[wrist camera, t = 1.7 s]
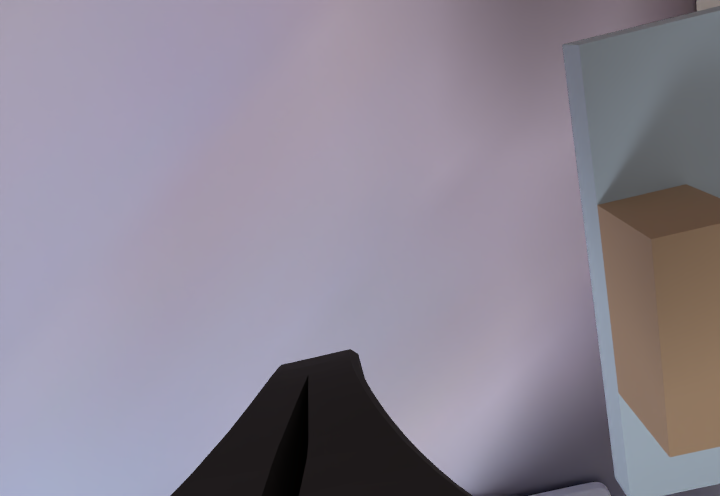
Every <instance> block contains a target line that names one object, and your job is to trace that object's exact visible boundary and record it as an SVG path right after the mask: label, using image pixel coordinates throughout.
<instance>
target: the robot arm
mask: <svg viewBox="0 0 720 496" xmlns="http://www.w3.org/2000/svg"><path fill="white" fill-rule="evenodd" d="M171 496H472V495H471V494H470V493H468V492H467V491H465V490H464V489H463V488H461V487H460V486H459V485H457V484H456V483H455V482H453V481H452V480H451V479H450V478H449V477H448V476H446V475H445V474H444V473H443V472H442V471H441V470H439V469H438V468H437V467H436V466H435V465H434V464H433V463H432V462H431V461H430V460H429V459H427V458H426V457H425V456H424V455H423V454H422V453H421V452H420V451H419V450H418V449H417V448H416V447H415V446H414V445H413V444H412V443H411V441H410V440H409V439H408V438H407V437H406V436H405V435H404V434H403V432H402V431H401V430H400V429H399V428H398V427H397V425H396V424H395V423H394V422H393V421H392V419H391V418H390V417H389V415H388V414H387V413H386V411H385V410H384V409H383V407H382V406H381V404H380V403H379V401H378V400H377V398H376V397H375V395H374V394H373V392H372V391H371V389H370V387H369V386H368V384H367V382H366V380H365V378H364V374H363V370H362V367H361V363H360V359H359V355H358V354H357V353H356V352H354V351H352V350H351V349H349V350H345V351H341V352H336V353H332V354H328V355H323V356H319V357H314V358H310V359H306V360H301V361H297V362H292V363H288V364H284V365H281V366H280V367H279V368H278V369H277V370H276V371H275V373H274V374H273V375H272V376H271V378H270V379H269V380H268V382H267V383H266V384H265V386H264V387H263V388H262V390H261V391H260V392H259V394H258V395H257V396H256V397H255V399H254V400H253V401H252V403H251V404H250V405H249V407H248V408H247V409H246V410H245V412H244V413H243V414H242V415H241V417H240V418H239V419H238V421H237V422H236V423H235V424H234V426H233V427H232V428H231V429H230V431H229V432H228V433H227V434H226V435H225V437H224V438H223V439H222V440H221V441H220V442H219V443H218V444H217V446H216V447H215V448H214V449H213V450H212V451H211V452H210V454H209V455H208V456H207V457H206V458H205V459H204V460H203V462H202V463H201V464H200V465H199V466H198V467H197V468H196V470H195V471H194V472H193V473H192V474H191V475H190V476H189V477H188V478H187V479H186V480H185V481H184V482H183V483H182V484H181V485H180V487H179V488H178V489H177V490H176V491H175V492H174V493H173V494H172V495H171ZM530 496H611V494H610V492H609V490H608V489H607V487H606V486H605V485H604V484H603V483H600V482H590V483H586V484H581V485H576V486H572V487H567V488H562V489H558V490H553V491H548V492H544V493H539V494H534V495H530Z"/></svg>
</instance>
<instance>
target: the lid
mask: <svg viewBox="0 0 720 496" xmlns="http://www.w3.org/2000/svg"><path fill="white" fill-rule="evenodd" d="M562 47H563V55H564V63H565V71H566V80H567V88H568V96H569V104H570V113H571V121H572V129H573V137H574V145H575V154H576V162H577V170H578V178H579V187H580V195H581V203H582V211H583V219H584V228H585V236H586V244H587V252H588V261H589V269H590V277H591V285H592V293H593V302H594V310H595V318H596V326H597V335H598V343H599V351H600V359H601V367H602V376H603V384H604V392H605V400H606V409H607V417H608V425H609V433H610V441H611V450H612V458H613V466H614V474H615V478H616V480H617V482H618V483H619V485H620V486H621V488H622V490H623V491H624V493H625V494H626V496H665V495H669V494H674V493H679V492H683V491H688V490H693V489H697V488H702V487H707V486H712V485H716V484H720V6H717V7H713V8H709V9H705V10H701V11H697V12H693V13H689V14H685V15H681V16H677V17H672V18H668V19H664V20H660V21H656V22H652V23H648V24H644V25H640V26H636V27H632V28H628V29H624V30H620V31H616V32H612V33H608V34H604V35H600V36H595V37H591V38H587V39H583V40H579V41H575V42H571V43H567V44H563V45H562Z"/></svg>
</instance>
